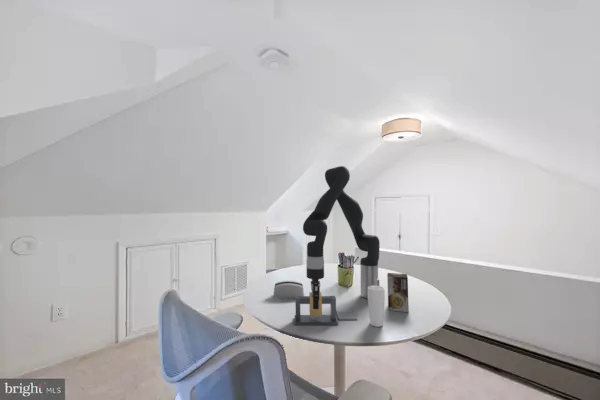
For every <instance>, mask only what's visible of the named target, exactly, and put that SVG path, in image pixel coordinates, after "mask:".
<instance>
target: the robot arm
mask: <svg viewBox="0 0 600 400" xmlns="http://www.w3.org/2000/svg"><path fill="white" fill-rule="evenodd" d="M350 174H351V173H350V170H349V168H348V167H347V166H343V165H342V166H341V165H340V166H336V167H332V168H328V169H326V171H325V173H324V178H325V182H326V184H327V187H328V188H329V189H328V190H327V191H326V192H325V193H324V194H322V196H321V197H320V198H319V200H318V201H317V204H316V206H315V208H314V210H313V211H312V212H311V213H309V215H308V216H307V218H306V219H305V220H304V222H303V225H302V226H303V227H302V231H303V233H304V235H306V236H308V237H310V236H311V237H315V238H314V240H313V241H308V242H307V244H306V278H307V279H309V280H310V289H311V292H312V294H313V309H319V299H320V298H319V294H320V292H321V281H320V280H322V279H324V277H325V260H324V246H325V245H324V244H325V241H326V236H327V234H328V224H327V222H326V221H325V220H327V219H328V218H329V217H330V215H331V212H332V211H333V207H334V206H335V203H336V202H337V203H338V205H339V207H340V208H341V212H342V213H343V215H344V217H345V219H346V221H347V224H348V226H349V228H350V230H351V232H352V235H353V238H354V240H355V244H356V246H357V247H358V249H359V250H360V251H362V252H367V255H366V257H362V258H360V261H359V262H360V265H359V266H360V297H362V298H363V299H367V300H368V287H369V286H380V279H379V259H380V244H381V243H380V239H379V237H378V236H377V235H374V234H367V233H365V231H364V229H363V225H362V224H363V220H364V213H363V210H362V208H361V206H360V203H359V202H358V201H357V200H356V199H355V198H353V197H352V196H351V195H350V194H349V193H347V192H346V191H345V190H344V189H345V188H346V187H347V184H348V183H349V181H350V176H351V175H350ZM314 295H318V297H314Z"/></svg>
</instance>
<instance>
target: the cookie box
mask: <svg viewBox="0 0 600 400" xmlns="http://www.w3.org/2000/svg"><path fill="white" fill-rule="evenodd" d="M386 278H387V310H388V311H392V312H393V311H395V312H404V313H409V312H410V311H409V284H408V282H409V281H408V280H409V279H408V274H407V273H397V272H396V273H394V272H387V277H386Z"/></svg>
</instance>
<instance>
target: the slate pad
mask: <svg viewBox="0 0 600 400" xmlns="http://www.w3.org/2000/svg"><path fill="white" fill-rule="evenodd" d="M336 317H337V320H338V321H358V317H357V315H356V314H355V311H354V310H343V311H342V310H340V311H339V310H336Z"/></svg>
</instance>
